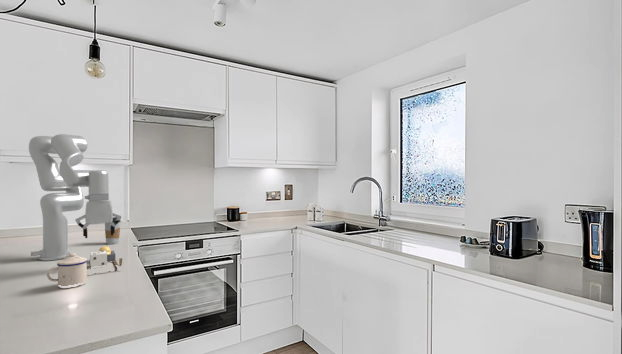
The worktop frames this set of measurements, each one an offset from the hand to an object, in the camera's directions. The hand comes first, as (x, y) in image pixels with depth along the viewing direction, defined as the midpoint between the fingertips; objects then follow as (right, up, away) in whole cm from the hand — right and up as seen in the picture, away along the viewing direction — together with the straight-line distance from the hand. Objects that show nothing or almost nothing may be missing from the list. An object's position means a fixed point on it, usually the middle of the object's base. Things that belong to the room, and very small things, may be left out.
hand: (99, 236), depth 147 cm
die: (-1, -13, 0) cm, 13 cm away
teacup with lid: (+5, -14, -25) cm, 29 cm away
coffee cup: (-23, -13, +47) cm, 54 cm away
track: (+2, -13, -3) cm, 14 cm away
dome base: (-4, -13, +9) cm, 17 cm away
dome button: (-4, -13, +9) cm, 16 cm away
